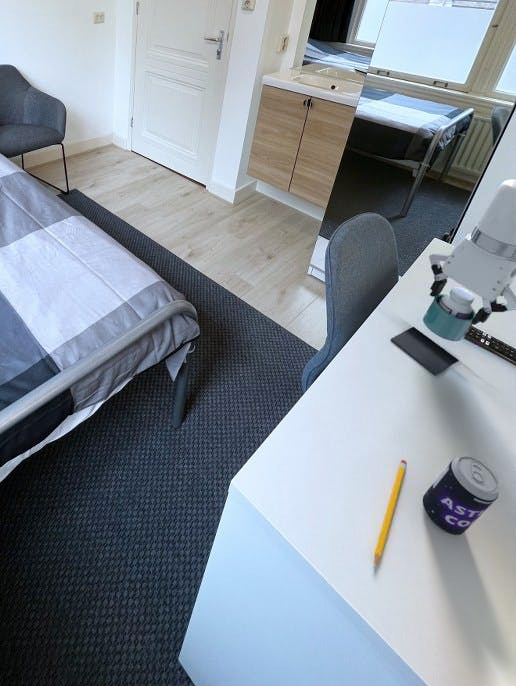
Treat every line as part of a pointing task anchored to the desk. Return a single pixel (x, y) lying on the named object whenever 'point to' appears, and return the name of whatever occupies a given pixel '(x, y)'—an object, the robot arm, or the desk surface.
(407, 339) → the dark grey rectangular plate
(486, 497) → the beverage can
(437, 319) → the cup
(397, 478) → the pencil
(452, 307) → the pill bottle
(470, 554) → the desk surface
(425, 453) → the desk surface
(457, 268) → the robot arm
